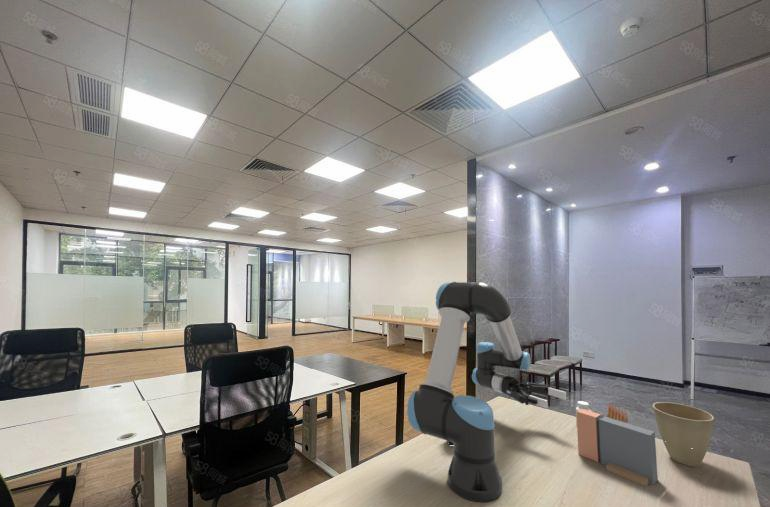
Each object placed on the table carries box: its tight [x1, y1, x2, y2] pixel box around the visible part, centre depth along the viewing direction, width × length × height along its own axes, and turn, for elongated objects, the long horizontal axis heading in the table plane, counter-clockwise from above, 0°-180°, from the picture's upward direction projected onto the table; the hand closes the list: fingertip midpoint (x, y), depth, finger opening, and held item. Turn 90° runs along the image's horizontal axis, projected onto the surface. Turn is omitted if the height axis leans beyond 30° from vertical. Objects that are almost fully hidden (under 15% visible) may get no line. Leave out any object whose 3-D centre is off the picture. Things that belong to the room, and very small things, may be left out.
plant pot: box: [652, 401, 715, 468], centre depth 107 cm, size 15×15×16 cm
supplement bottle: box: [575, 400, 592, 427], centre depth 130 cm, size 5×5×10 cm
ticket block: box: [597, 414, 659, 487], centre depth 101 cm, size 14×9×14 cm, turn 36°
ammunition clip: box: [606, 402, 629, 424], centre depth 120 cm, size 11×2×12 cm, turn 178°
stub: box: [575, 409, 602, 463], centre depth 109 cm, size 6×4×14 cm, turn 36°
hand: (556, 400), depth 119 cm, fingers open, 13 cm apart
